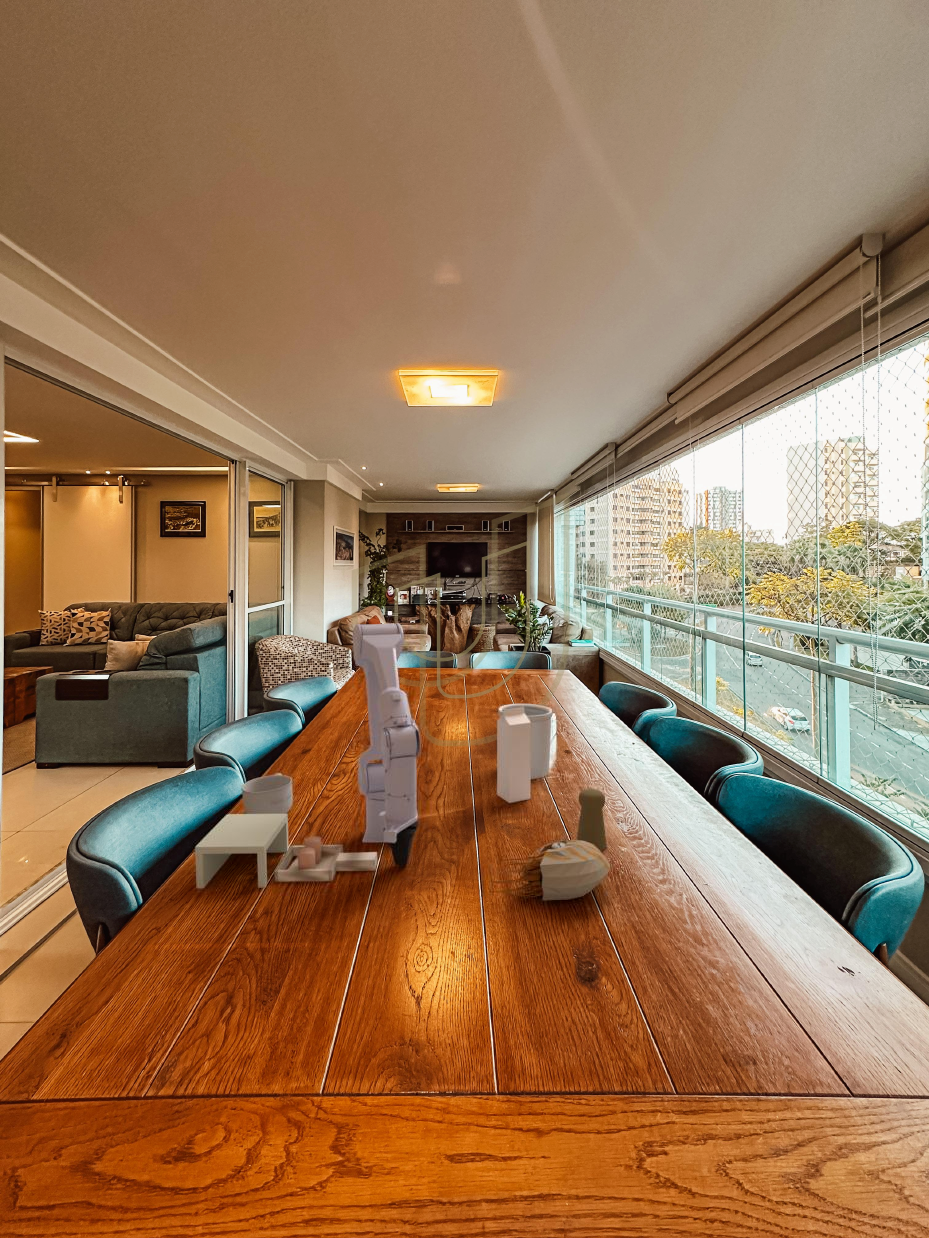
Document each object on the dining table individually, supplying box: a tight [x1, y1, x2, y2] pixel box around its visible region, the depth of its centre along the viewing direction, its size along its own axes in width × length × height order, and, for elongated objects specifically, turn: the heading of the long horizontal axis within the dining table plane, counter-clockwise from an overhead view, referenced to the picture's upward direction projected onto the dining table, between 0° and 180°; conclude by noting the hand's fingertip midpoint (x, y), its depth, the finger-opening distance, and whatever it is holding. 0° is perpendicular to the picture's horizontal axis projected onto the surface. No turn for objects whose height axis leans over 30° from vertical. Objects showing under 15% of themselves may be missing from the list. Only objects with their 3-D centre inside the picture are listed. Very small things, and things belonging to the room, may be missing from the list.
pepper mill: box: [576, 788, 608, 852], centre depth 117 cm, size 6×6×11 cm
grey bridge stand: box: [194, 813, 289, 889], centre depth 107 cm, size 12×14×8 cm
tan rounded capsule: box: [304, 836, 322, 864], centre depth 110 cm, size 3×3×4 cm
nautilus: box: [488, 839, 611, 902], centre depth 100 cm, size 8×22×15 cm
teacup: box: [240, 772, 294, 814], centre depth 133 cm, size 14×11×8 cm
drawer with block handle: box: [274, 844, 378, 883], centre depth 108 cm, size 17×10×2 cm, turn 91°
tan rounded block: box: [297, 848, 316, 869], centre depth 105 cm, size 3×3×4 cm
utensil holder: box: [497, 703, 553, 780], centre depth 162 cm, size 15×15×18 cm
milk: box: [496, 707, 531, 804], centre depth 142 cm, size 6×6×22 cm
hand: (401, 863), depth 108 cm, fingers closed
